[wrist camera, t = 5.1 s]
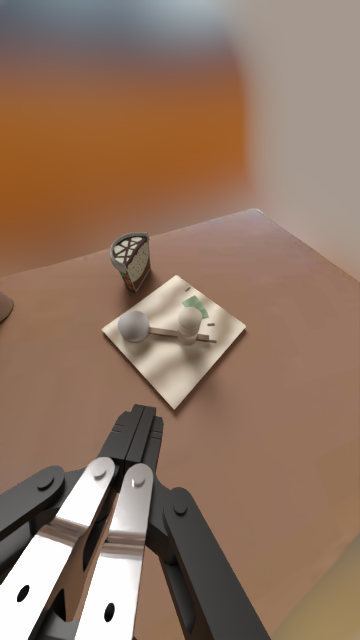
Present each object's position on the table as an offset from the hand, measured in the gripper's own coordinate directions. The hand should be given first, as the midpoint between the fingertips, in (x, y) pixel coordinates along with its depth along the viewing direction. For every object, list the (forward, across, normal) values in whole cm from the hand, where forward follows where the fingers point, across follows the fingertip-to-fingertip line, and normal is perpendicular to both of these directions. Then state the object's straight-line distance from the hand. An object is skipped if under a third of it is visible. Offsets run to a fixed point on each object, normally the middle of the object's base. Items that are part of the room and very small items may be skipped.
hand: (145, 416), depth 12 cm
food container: (+37, -14, +8) cm, 40 cm away
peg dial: (+24, -2, -2) cm, 24 cm away
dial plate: (+27, 0, -2) cm, 27 cm away
